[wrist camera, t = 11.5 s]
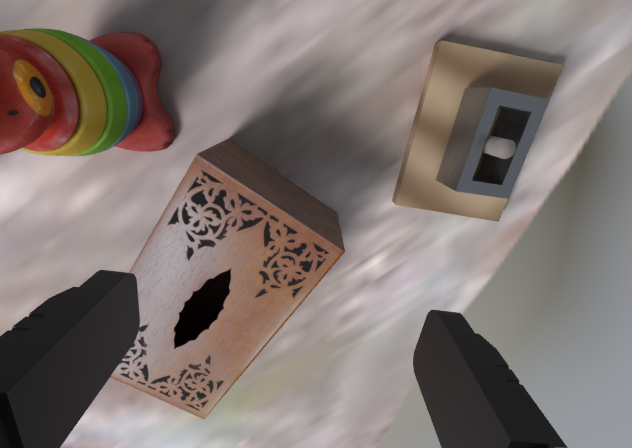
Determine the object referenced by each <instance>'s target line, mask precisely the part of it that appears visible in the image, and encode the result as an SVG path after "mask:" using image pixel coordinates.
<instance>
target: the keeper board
mask: <svg viewBox="0 0 632 448" xmlns="http://www.w3.org/2000/svg"><path fill="white" fill-rule="evenodd" d="M563 66H564V65H561V64H556V63H551V62H546V61H541V60H536V59H531V58H526V57H521V56H517V55H512V54H507V53H502V52H497V51H492V50H487V49H482V48H477V47H472V46H467V45H463V44H458V43H453V42H448V41H443V40H441V41H438V42H436V43H435V46H434V50H433V53H432V57H431V61H430V64H429V68H428V72H427V75H426V79H425V83H424V86H423V90H422V94H421V97H420V101H419V105H418V108H417V112H416V115H415V119H414V123H413V126H412V130H411V134H410V137H409V141H408V145H407V148H406V152H405V156H404V159H403V163H402V167H401V170H400V174H399V178H398V181H397V185H396V189H395V192H394V196H393V199H392V201H393V202H394V203H395V205H401V206H407V207H413V208H419V209H425V210H431V211H438V212H444V213H450V214H456V215H462V216H468V217H474V218H480V219H486V220H493V221H499V219H500V217H501V215H502V212H503V210H504V207H505V205H506V203H507V200H508V199H505V198H498V197H491V196H484V195H477V194H470V193H464V192H457V191H454V190H452V189H451V188H449V187H447V186H445V185H444V184H442V183H440V182H438V181H436V178H437V174H438V171H439V168H440V165H441V162H442V159H443V156H444V153H445V150H446V146H447V143H448V140H449V137H450V134H451V131H452V128H453V125H454V122H455V118H456V115H457V112H458V109H459V106H460V103H461V100H462V97H463V94H464V90H465V88H497V89H501V90H506V91H511V92H515V93H520V94H525V95H529V96H534V97H539V98H543V99H548V100H549V99H550V97H551V94H552V92H553V90H554V87H555V85H556V82H557V80H558V78H559V75H560V73H561V70H562V68H563ZM500 112H501V109H498V110H497V113H496V116H495V119H494V121H493V124H492V127H491V129H490V132H489V135H488V138H487V140H486V143H485V146H484V149H483V151H482V154H481V157H480V160H479V162H478V165H477V168H476V171H475V173H474V174H475V175H477V174H478V171H479V168H480V166H481V163H482V160H483V158H484V155H485V153H486V154H489V155H492V156H495V157H498V158H502V159H507V158H510V157H511V156H512V155H513V154H514V153H515V151H516V144H515V142H514V141H512V140H509V139H504V138H500V137H495V136H492V133H493V130H494V128H495V125H496V122H497V120H498V117H499V114H500Z"/></svg>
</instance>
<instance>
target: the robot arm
mask: <svg viewBox="0 0 632 448" xmlns="http://www.w3.org/2000/svg"><path fill="white" fill-rule="evenodd" d="M139 327H140V313H139V301H138V288H137V279H136V276H135V275H134V274H133V273H124V272H116V271H107V270H100V271H98V272H97V273H95V274H94V275H93V276H92V277H90V278H89V279H88V280H87V281H86V282H84V283H83V284H82V285H81V286H80V287H72V288H70V289H68V290H66V291H64V292H62V293H59V294H57V295H55V296H53V297H51V298H49V299H48V300H46V301H45V302H44V303H42V304H41V305H40V306H39V307H37V308H36V309H35V310H33V311H32V312H31V313H30V315H29V317H25V318H23V319H22V320H21V321H19V322H18V323H17V324H16V325H14V326H13V328H12V330H11V331H9V330H8V331H7V332H5V333H4V334H3V335H2V336H0V448H60V447H61V445H62V444H63V442H64V441H65V440H66V438H67V437H68V435H69V434H70V432H71V431H72V430H73V428H74V427H75V425H76V424H77V423H78V421H79V420H80V418H81V417H82V416H83V414H84V413H85V411H86V410H87V409H88V407H89V406H90V404H91V403H92V402H93V400H94V399H95V397H96V396H97V394H98V393H99V392H100V390H101V389H102V387H103V386H104V385H105V383H106V382H107V380H108V379H109V378H110V376H111V375H112V373H113V372H114V371H115V369H116V368H117V366H118V365H119V363H120V362H121V361H122V359H123V358H124V356H125V355H126V354H127V352H128V351H129V349H130V348H131V347H132V345H133V343H134V342H135V340H136V337H137V335H138V331H139ZM413 366H414V373H415V376H416V379H417V382H418V384H419V387H420V390H421V393H422V395H423V398H424V401H425V403H426V406H427V409H428V412H429V414H430V417H431V420H432V422H433V425H434V428H435V431H436V433H437V436H438V439H439V442H440V444H441V447H442V448H567V446H566V445H565V444H564V442H563V441H562V439H561V438H560V437H559V435H558V434H557V432H556V431H555V430H554V428H553V427H552V426H551V424H550V423H549V421H548V420H547V419H546V417H545V416H544V414H543V413H542V412H541V410H540V409H539V408H538V406H537V405H536V403H535V402H534V401H533V399H532V398H531V396H530V395H529V394H528V392H527V391H526V390H525V388H524V387H523V385H520V384H519V380H518V378H517V377H516V376H515V374H514V373H513V371H512V370H510V369H509V366H508V364H507V363H506V362H505V360H504V359H503V358H502V356H501V355H500V353H499V352H498V351H497V349H496V348H495V347H493V346H492V345H491V344H490V343H489V342H488V341H487V340H485V339H484V338H483V337H482V336H481V335H479V334H476V333H474V331H473V330H472V328H471V327H470V325H469V324H468V322H467V321H466V320H465V318H464V317H463V315H462V314H460V313H456V312H448V311H439V310H431V311H430V312H429V313H428V314H427V317H426V320H425V323H424V325H423V328H422V331H421V334H420V337H419V340H418V343H417V345H416V348H415V351H414V357H413Z"/></svg>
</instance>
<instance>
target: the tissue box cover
mask: <svg viewBox="0 0 632 448" xmlns="http://www.w3.org/2000/svg"><path fill="white" fill-rule="evenodd" d="M344 252H345V249H344V244H343V239H342V235H341V230H340V225H339V220H338V215H337V213H336V212H335V211H333V210H332V209H330V208H329V207H327V206H326V205H324V204H323V203H321V202H320V201H319V200H317V199H316V198H314V197H313V196H311V195H310V194H308V193H307V192H305V191H304V190H303V189H301V188H300V187H298V186H297V185H295V184H294V183H292V182H291V181H289V180H288V179H286V178H285V177H284V176H282V175H281V174H279V173H278V172H276V171H275V170H273V169H272V168H270V167H269V166H268V165H266V164H265V163H263V162H262V161H260V160H259V159H257V158H256V157H254V156H253V155H252V154H250V153H249V152H247V151H246V150H244V149H243V148H241V147H240V146H238V145H237V144H235V143H234V142H233V141H231V140H230V139H227V140H225V141H223V142H221V143H219V144H217V145H215V146H213V147H210V148H208V149H206V150H204V151H202V152H200V153H198V154H197V155H196V157H195V158H194V160H193V162H192V164H191V165H190V167H189V169H188V171H187V172H186V174H185V176H184V178H183V179H182V181H181V183H180V184H179V186H178V188H177V190H176V191H175V193H174V195H173V197H172V198H171V200H170V202H169V204H168V205H167V207H166V209H165V211H164V212H163V214H162V216H161V218H160V219H159V221H158V223H157V225H156V226H155V228H154V230H153V232H152V233H151V235H150V237H149V239H148V240H147V242H146V244H145V246H144V247H143V249H142V251H141V252H140V254H139V256H138V258H137V259H136V261H135V263H134V265H133V266H132V268H131V270H130V272H129V273H133V274H134V275H135V276H136V279H137V288H138V301H139V313H140V327H139V331H138V335H137V337H136V340H135V342H134V343H133V345H132V347H131V348H130V349H129V351H128V352H127V354H126V355H125V356H124V358H123V359H122V361H121V362H120V363H119V365H118V366H117V368H116V369H115V371H114V372H113V373H112V375H111V376H110V377H111V378H113V379H116V380H118V381H120V382H122V383H125V384H127V385H129V386H131V387H133V388H136V389H138V390H140V391H142V392H145V393H147V394H149V395H151V396H153V397H156V398H158V399H160V400H162V401H165V402H167V403H169V404H171V405H173V406H176V407H178V408H180V409H182V410H185V411H187V412H189V413H191V414H193V415H196V416H198V417H200V418H202V419H205V418H206V416H207V415H208V414H209V413H210V412H211V410H212V409H213V408H214V407H215V406H216V404H217V403H218V402H219V401H220V400H221V398H222V397H223V396H224V395H225V394H226V393H227V391H228V390H229V389H230V388H231V387H232V385H233V384H234V383H235V382H236V381H237V379H238V378H239V377H240V376H241V375H242V373H243V372H244V371H245V370H246V369H247V368H248V366H249V365H250V364H251V363H252V362H253V360H254V359H255V358H256V357H257V356H258V354H259V353H260V352H261V351H262V350H263V348H264V347H265V346H266V345H267V344H268V342H269V341H270V340H271V339H272V338H273V337H274V335H275V334H276V333H277V332H278V331H279V329H280V328H281V327H282V326H283V325H284V323H285V322H286V321H287V320H288V319H289V317H290V316H291V315H292V314H293V313H294V312H295V310H296V309H297V308H298V307H299V306H300V304H301V303H302V302H303V301H304V300H305V298H306V297H307V296H308V295H309V294H310V292H311V291H312V290H313V289H314V288H315V287H316V285H317V284H318V283H319V282H320V281H321V279H322V278H323V277H324V276H325V275H326V273H327V272H328V271H329V270H330V269H331V267H332V266H333V265H334V264H335V263H336V261H337V260H338V259H339V258H340V257H341V256H342V254H343V253H344ZM175 326H176V327H175ZM177 327H178V328H177ZM179 328H180V329H179ZM181 329H182V330H181ZM183 330H184V331H185V332H184V331H183ZM186 332H187V333H186ZM188 333H189V334H188ZM190 334H191V335H190ZM192 335H193V336H192ZM194 336H195V337H194ZM196 337H197V338H196Z"/></svg>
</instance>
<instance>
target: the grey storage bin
mask: <svg viewBox="0 0 632 448" xmlns="http://www.w3.org/2000/svg"><path fill="white" fill-rule="evenodd" d="M548 103H549V100H548V99H543V98H539V97H534V96H529V95H525V94H520V93H515V92H511V91H506V90H501V89H497V88H465V90H464V94H463V97H462V100H461V103H460V106H459V109H458V112H457V115H456V118H455V122H454V125H453V128H452V131H451V134H450V137H449V140H448V143H447V146H446V150H445V153H444V156H443V159H442V162H441V165H440V168H439V171H438V174H437V178H436V181H438V182H440V183H442V184H444V185H445V186H447V187H449V188H451V189H452V190H454V191H457V192H464V193H470V194H477V195H484V196H491V197H498V198H505V199H508V198H509V196H510V193H511V191H512V189H513V186H514V184H515V181H516V179H517V177H518V174H519V172H520V169H521V167H522V165H523V162H524V160H525V158H526V155H527V153H528V150H529V148H530V146H531V143H532V141H533V138H534V136H535V134H536V131H537V129H538V126H539V124H540V122H541V119H542V117H543V114H544V112H545V110H546V107H547V105H548ZM498 109H501V112H500V114H499V117H498V120H497V122H496V125H495V128H494V130H493V133H492V136H495V137H500V138H504V139H509V140H512V141H514V142H515V144H516V151H515V153H514V154H513V155H512V156H511V157H510V158H507V159H502V158H498V157H495V156H492V155H489V154H486V153H485V155H484V158H483V160H482V163H481V166H480V168H479V171H478V174H477V175H475V174H474V173H475V171H476V168H477V165H478V162H479V160H480V157H481V154H482V151H483V149H484V146H485V143H486V140H487V138H488V135H489V132H490V129H491V127H492V124H493V121H494V119H495V116H496V113H497V110H498Z"/></svg>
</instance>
